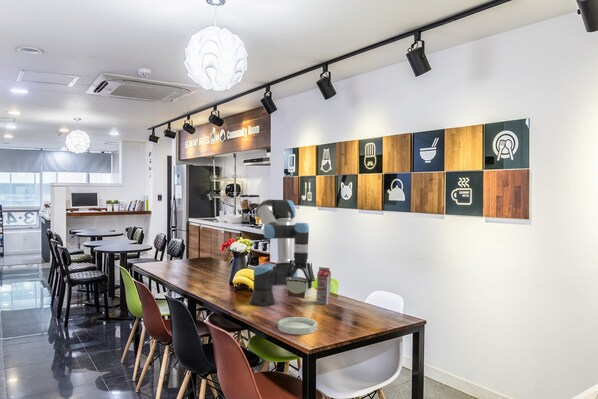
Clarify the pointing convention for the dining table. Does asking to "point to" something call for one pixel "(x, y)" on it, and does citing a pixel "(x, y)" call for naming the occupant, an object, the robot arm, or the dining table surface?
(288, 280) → the food container
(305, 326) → the round tray
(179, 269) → the dining table surface
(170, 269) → the dining table surface
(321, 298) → the juice carton
